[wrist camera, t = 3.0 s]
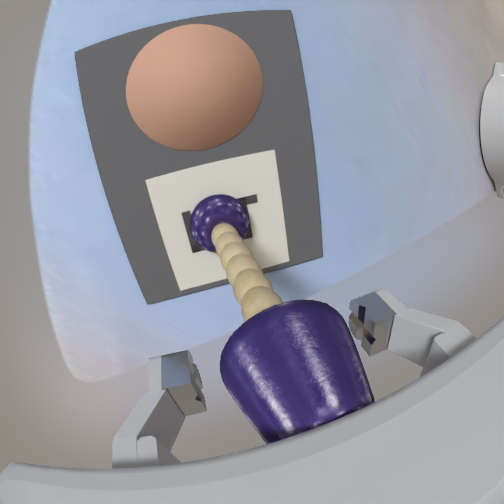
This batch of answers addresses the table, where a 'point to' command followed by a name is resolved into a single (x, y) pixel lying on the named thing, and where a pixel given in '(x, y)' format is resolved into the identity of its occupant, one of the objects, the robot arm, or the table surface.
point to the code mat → (203, 142)
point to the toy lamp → (279, 339)
